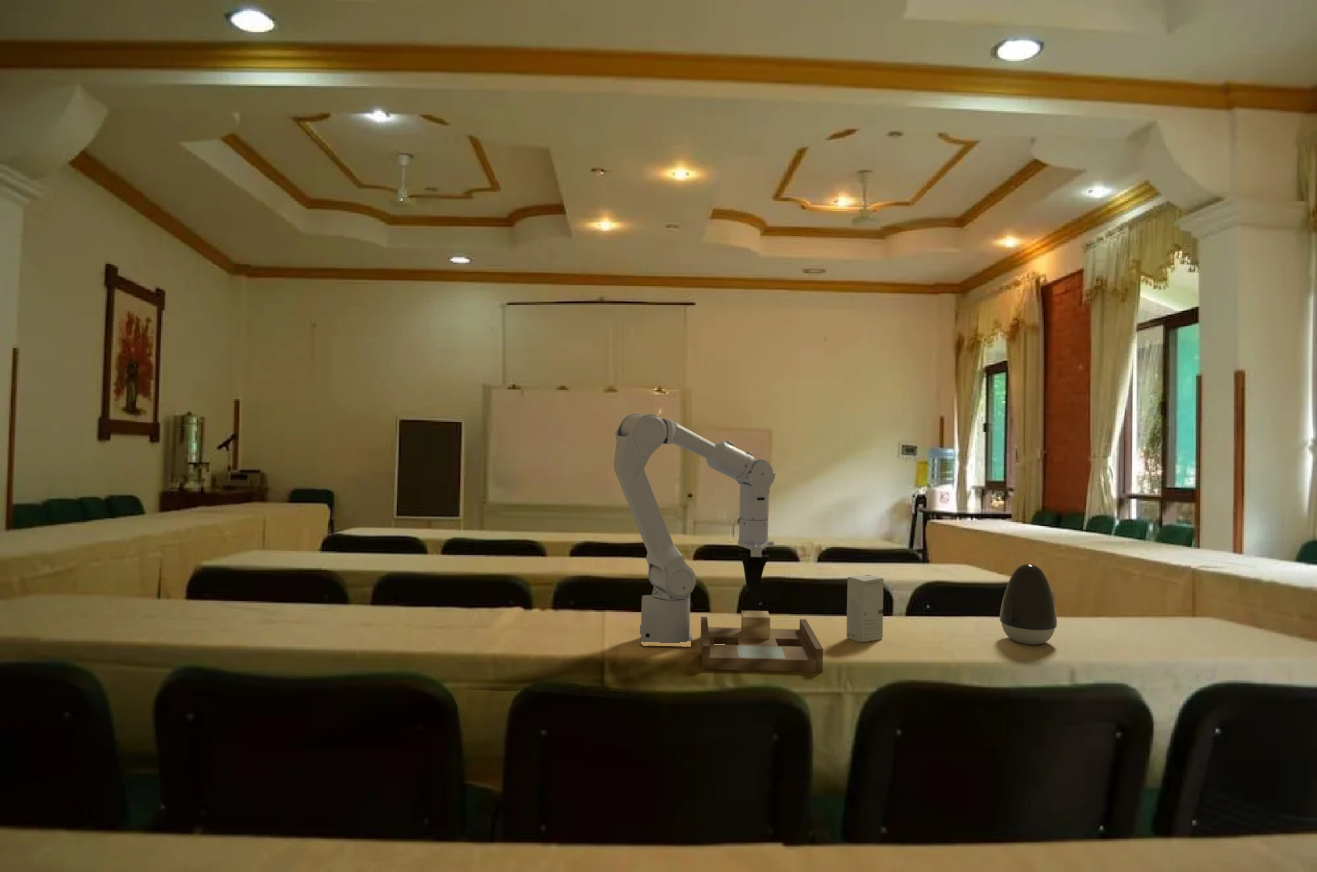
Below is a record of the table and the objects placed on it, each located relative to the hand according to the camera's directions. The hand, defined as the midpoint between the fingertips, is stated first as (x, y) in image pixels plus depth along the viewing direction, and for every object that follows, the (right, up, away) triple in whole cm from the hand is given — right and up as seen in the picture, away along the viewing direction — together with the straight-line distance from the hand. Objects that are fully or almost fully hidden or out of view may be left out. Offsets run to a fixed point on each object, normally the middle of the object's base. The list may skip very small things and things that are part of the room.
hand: (752, 587), depth 161 cm
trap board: (-1, -10, -13) cm, 16 cm away
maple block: (0, -8, -8) cm, 11 cm away
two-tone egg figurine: (+54, -11, -2) cm, 55 cm away
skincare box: (+22, -10, -2) cm, 24 cm away
